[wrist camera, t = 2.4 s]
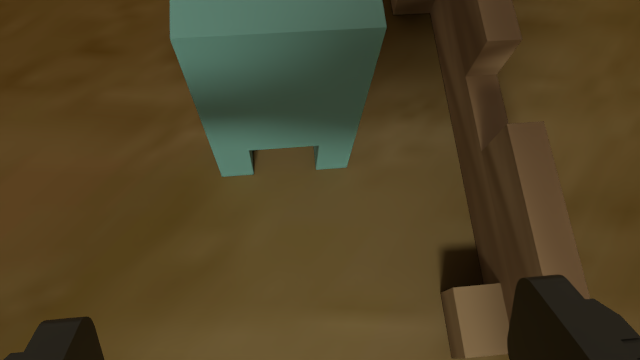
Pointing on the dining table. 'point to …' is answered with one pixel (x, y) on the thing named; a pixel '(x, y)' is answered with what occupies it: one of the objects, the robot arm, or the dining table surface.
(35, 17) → the dining table surface
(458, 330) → the slotted rail
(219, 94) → the slotted tab
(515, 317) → the robot arm
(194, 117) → the dining table surface
